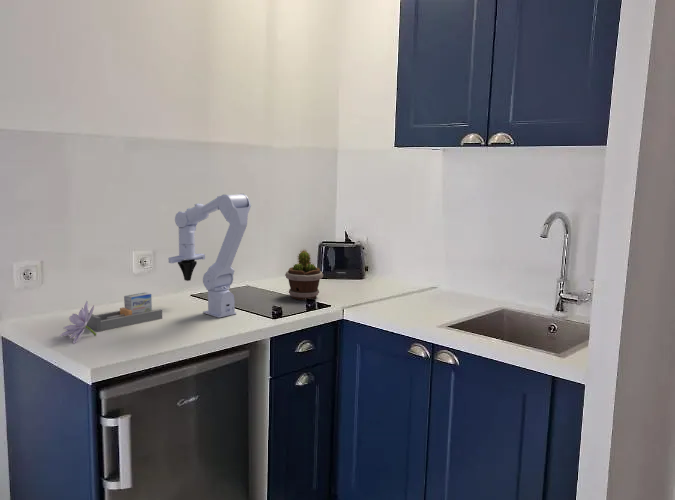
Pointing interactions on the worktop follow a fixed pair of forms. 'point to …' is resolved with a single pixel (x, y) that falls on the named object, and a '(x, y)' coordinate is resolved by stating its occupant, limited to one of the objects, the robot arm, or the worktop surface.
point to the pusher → (122, 313)
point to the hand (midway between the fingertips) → (187, 280)
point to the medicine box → (138, 303)
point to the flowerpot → (304, 278)
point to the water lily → (79, 323)
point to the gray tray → (121, 319)
